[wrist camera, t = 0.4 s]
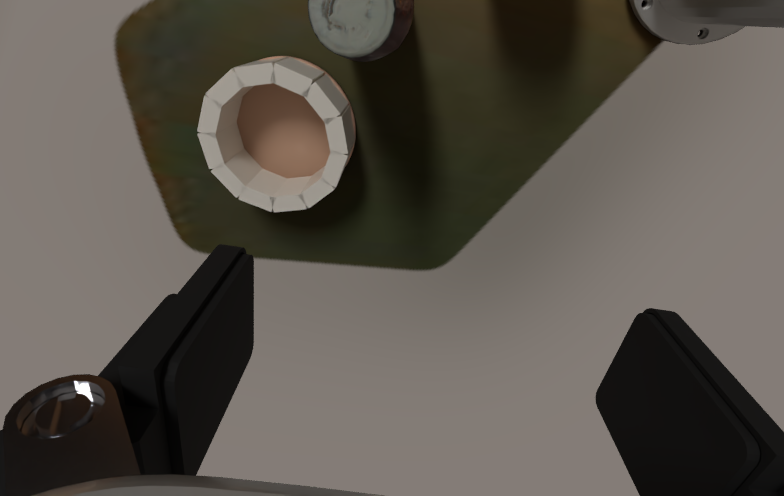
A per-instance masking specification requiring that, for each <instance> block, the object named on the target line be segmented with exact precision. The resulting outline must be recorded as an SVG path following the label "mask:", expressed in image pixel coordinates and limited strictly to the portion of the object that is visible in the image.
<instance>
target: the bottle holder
mask: <svg viewBox="0 0 784 496" xmlns="http://www.w3.org/2000/svg"><path fill="white" fill-rule="evenodd" d="M206 94H207V95H205V96H204V100H203V105H202V110H201V115H200V120H199V125H198V130H197V131H198V132H200V133H198V137H199V140H200V143H201V146H202V149H203V152H204V155H205V158H206V161H207V164H208V167H209V169H213V168H214V169H213V170H212V171H211V172H212V173H213V174H214V175H215V176H216V177H217V178H218V179H219V180H220V181H221V183H222V184H223V185H224V186H225V187H226V188H227V189H228V190H229V191H230V192H231V193H232V194H233V195H234V196H235V197H236V198H237V197H238V196H239V195H240V196H239V200H242V201H244V202H247V203H249V204H252V205H254V206H257V207H259V208H262V209H265V210H267V211H270V212H272V210H273V211H274V212H284V211H294V210H304V209H307V208H310V207H311V206H313V205H314V204H316V203H317V202H318V201H320V200H321V199H322V198H324V197H325V196H326V195H328V194H329V193H330V192H332V191H333V190H334V189H335V187H336V186H337V184H338V182H339V180H340V178H341V175H342V173H343V171H344V169H345V167H346V165H347V164H348V161H349V159H350V157H351V155H352V152H353V149H354V146H355V140H356V123H355V117H354V112H353V109H352V106H351V104H350V101H349V99H348V97H347V95H346V94H345V92H344V91H343V89H342V88H341V86H340V85H339V84H338V83H337V81H336V80H335V79H334V78H333V77H332V76H331V75H330V74H328V73H327V72H326V71H325V70H323V69H322V68H320V67H319V66H317V65H315V64H313V63H311V62H309V61H306V60H304V59H301V58H297V57H292V56H273V57H268V58H264V59H261V60H258V61H254V62H250V63H247V64H244V65H241V66H237V67H234V68H232V69H231V70H230V71H229V72H228V73H226V74H225V75H224V76H223V77H222V78H221V79H220V80H219V81H218V82H217V83H216V84H215V85H214V86H213V87H212V88H211V89H210V90H209V91H208V92H207V93H206Z"/></svg>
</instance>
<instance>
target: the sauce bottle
mask: <svg viewBox="0 0 784 496" xmlns="http://www.w3.org/2000/svg"><path fill="white" fill-rule="evenodd" d="M308 13H309V20H310V23H311V26H312V28H313V30H314V32H315V34H316V36H317V38H318V39H319V41H320V42H321V43H322V44H323V45H324V46H325V47H326V48H327V49H328V50H330V51H332V52H334V53H335V54H337V55H340V56H343V57H345V58H347V59H350V60H353V61H360V62H367V61H374V60H377V59H380V58H382V57H384V56H386V55H388V54H389V53H391V52H393V51H395V50H396V49H398V48H399V47H400V45H401V43H402V42H403V40H404V38H405V37H406V35H407V34H408V32H409V29H410V26H411V23H412V19H413V13H414V0H308Z"/></svg>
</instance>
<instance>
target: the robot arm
mask: <svg viewBox="0 0 784 496" xmlns="http://www.w3.org/2000/svg"><path fill="white" fill-rule="evenodd" d="M629 1H630V4H631V7H632V9H633V12H634V14H635V16H636V17H637V19H638V20H639V22H640V23H641V25H642V26H643V27H645V28H646V29H647V30H648V31H649V32H650V33H651V34H653V35H655V36H657V37H658V38H660V39H662V40H665V41H669V42H673V43H677V44H688V45H693V44H704V43H708V42H712V41H716V40H719V39H722V38H724V37H727V36H729V35H731V34H733V33H735V32H737V31H739V30H740V29H742V28H744V27H745V26H760V27H782V28H784V0H644V1H645V5H644V6H643V7H642V5H641V4H642V1H643V0H629ZM699 30H700V34H699V35H697V34H698V32H699ZM253 265H254V260H253V256H252V255H248V254H246V250H245V248H242V247H235V246H228V245H222V244H220V245H218V246H217V247H216V248H215V249H214V250H213V252H212V253H211V254H210V255H209V256H208V258H207V259H206V260H205V261H204V263H203V264H202V265H201V266H200V267H199V269H198V270H197V271H196V272H195V273H194V275H193V276H192V277H191V278H190V279H189V281H188V282H187V283H186V284H185V285H184V287H183V288H182V289H181V290H180V291H179V293H178V294H170V295H168V296H167V297H166V298H165V299H164V300H163V301H162V302H161V303H160V305H159V306H158V307H157V308H156V309H155V310H154V312H153V313H152V314H151V315H150V316H149V317H148V318H147V320H146V321H145V322H144V323H143V324H142V325H141V327H140V328H139V329H138V330H137V331H136V333H135V334H134V335H133V336H132V337H131V338H130V339H129V340H128V342H127V343H126V344H125V345H124V346H123V347H122V349H121V350H120V351H119V352H118V353H117V355H116V356H115V357H114V358H113V359H112V360H111V361H110V363H109V364H108V365H107V366H106V367H105V368H104V369H103V371H102V372H101V373H100V374H99V375H98V376H94V375H90V374H84V375H71V376H66V377H61V378H57V379H55V380H52V381H49V382H47V383H44V384H41V385H40V386H38V387H36V388H35V389H33V390H31V391H30V392H28V393H26V394H25V395H24V396H23V397H21V399H19V400H18V401H17V402H16V403H15V404H14V405H13V406H12V408H11V409H10V410H9V412H8V414H7V415H6V416H5V421H4V425H3V430H0V496H383V495H375V494H366V493H359V492H350V491H342V490H333V489H326V488H317V487H309V486H300V485H290V484H281V483H271V482H262V481H252V480H242V479H233V478H223V477H208V476H196V474H197V472H198V470H199V468H200V465H201V463H202V461H203V459H204V457H205V455H206V452H207V450H208V448H209V446H210V444H211V442H212V439H213V437H214V435H215V433H216V431H217V429H218V426H219V424H220V422H221V420H222V418H223V416H224V414H225V411H226V409H227V407H228V405H229V403H230V401H231V399H232V396H233V394H234V392H235V390H236V388H237V386H238V383H239V381H240V379H241V377H242V375H243V372H244V370H245V368H246V366H247V364H248V362H249V359H250V357H251V354H252V350H253V343H254V341H253V340H254V335H253V334H254V327H253V326H254V324H253V323H254V322H253V321H254V310H253V309H254V295H253V294H254V286H253V285H254V266H253ZM596 404H597V407H598V409H599V411H600V414H601V416H602V417H603V420H604V422H605V424H606V426H607V428H608V430H609V432H610V434H611V436H612V439H613V441H614V442H615V445H616V447H617V449H618V451H619V453H620V455H621V457H622V459H623V461H624V464H625V466H626V468H627V470H628V472H629V474H630V476H631V478H632V480H633V482H634V484H635V486H636V489H637V491H638V493H639V495H640V496H784V432H783V431H782V430H781V429H780V427H779V426H778V425H777V424H776V423H775V422H774V421H773V420H772V418H771V417H770V416H769V415H768V414H767V413H766V412H765V411H764V410H763V408H762V407H761V406H760V405H759V404H758V403H757V402H756V401H755V399H754V398H753V397H752V396H751V395H750V394H749V393H748V392H747V391H746V390H745V388H744V387H743V386H742V385H741V384H740V383H739V382H738V381H737V379H736V378H735V377H734V376H733V375H732V374H731V373H730V372H729V371H728V369H727V368H726V367H725V366H724V365H723V364H722V363H721V362H720V361H719V359H718V358H717V357H716V356H715V355H714V354H713V353H712V352H711V350H709V348H708V347H707V346H706V345H705V344H704V343H703V342H702V340H701V339H700V338H699V337H698V336H697V335H696V334H695V333H694V332H693V330H692V329H691V328H690V327H689V326H688V325H687V324H686V323H685V322H684V320H682V318H681V317H680V316H679V315H678V314H677V313H675V312H672V311H666V310H658V309H652V308H649V309H646V310H645V311H644V312H643V313H639V314H638V315H637V316H636V318H635V319H634V321H633V323H632V325H631V327H630V329H629V330H628V332H627V334H626V336H625V338H624V340H623V342H622V344H621V346H620V348H619V350H618V352H617V353H616V355H615V357H614V359H613V361H612V363H611V365H610V367H609V369H608V371H607V373H606V375H605V376H604V379H603V380H602V382H601V384H600V386H599V388H598V390H597V393H596Z"/></svg>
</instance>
